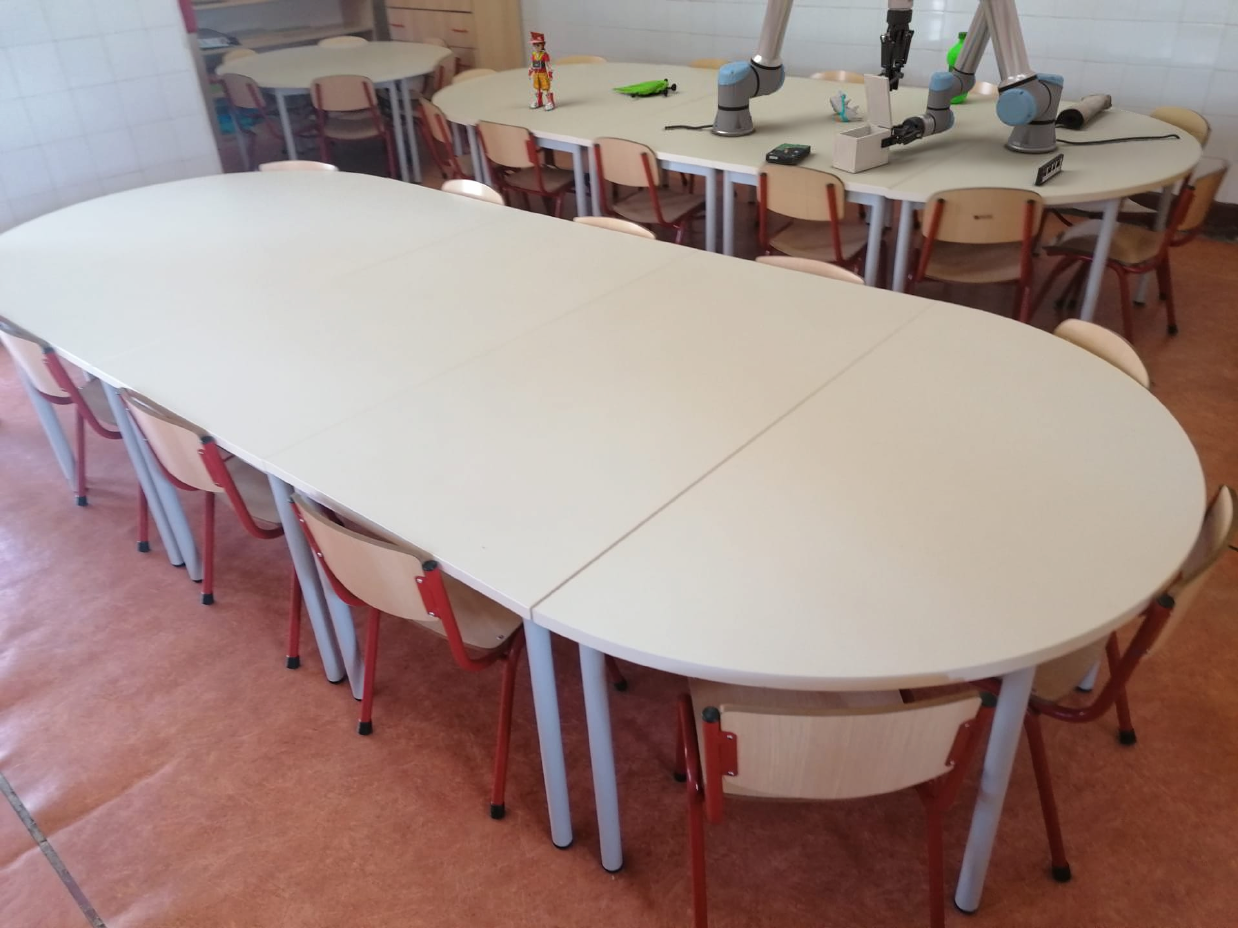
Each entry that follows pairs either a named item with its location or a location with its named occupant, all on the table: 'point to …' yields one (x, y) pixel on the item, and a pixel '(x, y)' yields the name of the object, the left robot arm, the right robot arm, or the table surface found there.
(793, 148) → the disk drive
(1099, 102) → the rolled mat
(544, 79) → the toy
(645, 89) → the toy
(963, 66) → the right robot arm
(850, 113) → the anatomical model
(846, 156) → the chest
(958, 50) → the plastic bottle
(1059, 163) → the midi keyboard
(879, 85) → the lid
